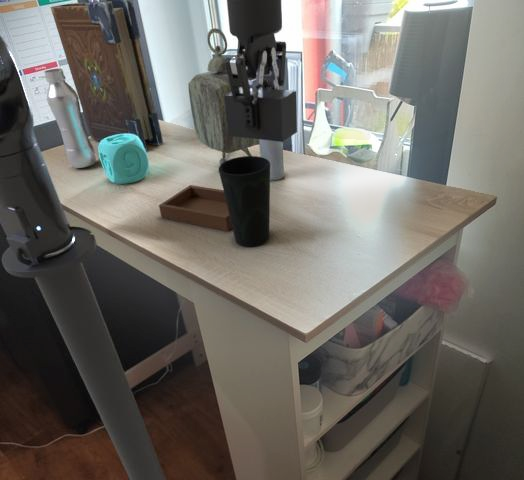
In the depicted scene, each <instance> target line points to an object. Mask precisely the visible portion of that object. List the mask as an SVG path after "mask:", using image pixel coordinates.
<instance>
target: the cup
mask: <svg viewBox="0 0 524 480" xmlns="http://www.w3.org/2000/svg"><path fill="white" fill-rule="evenodd" d="M226 160H227V159H226ZM218 172H219V177H220V182H221V186H222V190H224V194H225V199H226V203H227V207H228V211H229V215H230V219H231V224H232V228H231V229H232V231H233V236H234V240H235V243H236V244H237V245H239V246H241V247H244V248H255V247H259V246H262V245H264V244H266V243H267V242H268V241H269V239H270V214H271V213H270V211H271V210H270V208H271V207H270V205H271V180H270V162H269V161H268V160H267V159H265V158H262V157H261V156H256V155H252V156H248V155H245V156H244V155H243V156H238V157H234V158H230V159H228V160H227V161H225V162H224V163H222V164H220V165H219V166H218Z"/></svg>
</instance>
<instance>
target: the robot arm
mask: <svg viewBox="0 0 524 480" xmlns="http://www.w3.org/2000/svg"><path fill="white" fill-rule="evenodd" d="M282 2H283V1H282V0H226V7H227V16H228V27H229V33H230V34H231V35H232V36H233V37H236V39H237V47H236V48H237V49H236V55H235V56H233V57H227V59H226V68H227V73H228V77H229V82H230V86H231V91H232V96H233V100H234V102H239V103H241V104H243V108H244V119H245V127H246V129H247V130H250V131H257V130H258V129H259V128H260V123H259V108H258V104H257V103H258V95H259V88H260V89H276V90H280V87H284V85H285V77H286V76H285V75H286V73H285V72H286V61H287V60H286V58H287V42H286V41H277V39H276V36H275V35H276V34H278V33H280V32H281V31H282V30H283V3H282ZM248 78H255V80H248ZM238 87H241V93H239V88H238ZM250 87H252V95H251V92H250ZM34 125H35V122H34V115H33V110H32V108H31V104H30V101H29V99H28V95H27V91H26V90H25V87H24V83H23V80H22V78H21V74H20V71H19V68H18V65H17V63H16V60H15V58H14V55H13V53H12V51H11V49H10V47H9V46H8V44H7V42H6V41H5V39H4V38H3V37H2V35H0V225H1V226H2V229H3V231H4V233H5V235H6V237H5V238H6V241H7V243H8V245H9V247H11V249H12V251H13V253H14V254H15V255H16V257H17V259H18V260H19V262H21V263H23V264H26V265H28V266H30V265H31V263H32V262H31V261H33V262H37V263H41V262H43V261H45V260H48V259H52V258H55V257H58V256H60V255H62V254H64V253H66V252H68V251H69V250H71V249H72V248H73V247H74V245H75V243H76V240H75V237H74V235H73V233H72V231H71V230H72V229H71V228H70V226H71V224H70V222H69V221H68V218H67V216H66V213H65V210H64V207H63V205H62V202H61V199H60V198H59V194H58V193H57V189H56V187H55V184H54V182H53V178H52V177H51V174H50V171H49V169H48V166H47V164H46V161H45V158H44V155H43V154H42V153H43V152H42V151H41V148H40V145H39V142H38V140H37V137H36V135H35V130H34ZM29 260H30V261H29Z"/></svg>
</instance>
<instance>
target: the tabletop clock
mask: <svg viewBox="0 0 524 480" xmlns="http://www.w3.org/2000/svg"><path fill="white" fill-rule="evenodd" d="M215 33H216V34H218V35H219V36H220V37H221V39H222V40H223V42H224V48H223V49H221V48H222V47H221V45H216V46H215V47H213V46H212V44H211V36H212V34H215ZM207 44H208V47H209V49H210V51H211V52H212V53H213V54H215V56H214V57H212V58H211V59H210V60H209V62H208V64H207V68H206V69H207V71H206V72H202V73H197V74H195V76H193V78H192V79H191V80H190V81H189V82H188V97H189V103H190V110H191V116H192V121H193V125H194V130H195V134H196V138H197V139H198V141H199V142H200V143H201V144H202V145H204V146H206V147H208V148H209V149H212V150H215V151H217V152H221V153H222V154H221V155H222V157H221V158H220V159H219V164H220V165H221V164H222V163H224V162H225V161H227V158H226V154H227V155H231V154H232V153H235V152H238V151H242V152H243V153H245V154H246V156H253V155H252V154H251V152H250V150H249V148H251V147H254V146H257V145H260V144H259V139H252V138H244V137H235V136H228V127H227V118H226V109H225V99H224V95H225V94H228V93H230V92H232V91H231V86H230V82H229V77H228V73H227V68H226V59H227V58H228V57H227V56H225V55H224V54H226V53H227V50H228V40H227V37H226V36H225V33H224V32H223V31H222V30H221V29H220V28H217V27H216V28H215V27H213V28H211V29H210V30H209V31H208V32H207ZM248 80H255V78H248ZM238 88H240V87H238ZM250 88H252V87H250Z"/></svg>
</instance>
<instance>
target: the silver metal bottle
mask: <svg viewBox="0 0 524 480" xmlns="http://www.w3.org/2000/svg"><path fill="white" fill-rule="evenodd" d="M43 72H44V76H45V78H46V79H45V80H46V82H47V83H48V84H49V85H48V87H47V91H46V101H47V105H48V106H49V108H50V111H51V112H52V115H53V117H54V118H55V121H56V123H57V126H58V129H59V132H60V134H61V138H62V142H63V146H64V153H65V154H64V155H65V158H66V161H67V162H68V164H69V165H70V166H71V167H72V168H75V169H81V168H86V167H90V166H92V165H93V166H94V164H95V163H96V161H97V155H96V151H95V148H94V146H93V145H92V143H91V140H90V138H89V136H88V133H87V130H86V128H85V123H84V120H83V116H82V112H81V103H80V100H79V97H78V94H77V91H76V89H74V88H73V87H72V86H71V85H70V84H69V83H68V82H67V81H66V76H65V74H64V69H62V68H51V69H47V70H44V71H43Z"/></svg>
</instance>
